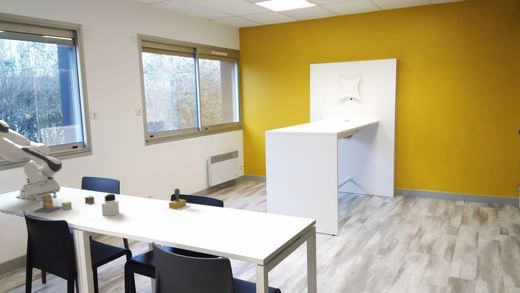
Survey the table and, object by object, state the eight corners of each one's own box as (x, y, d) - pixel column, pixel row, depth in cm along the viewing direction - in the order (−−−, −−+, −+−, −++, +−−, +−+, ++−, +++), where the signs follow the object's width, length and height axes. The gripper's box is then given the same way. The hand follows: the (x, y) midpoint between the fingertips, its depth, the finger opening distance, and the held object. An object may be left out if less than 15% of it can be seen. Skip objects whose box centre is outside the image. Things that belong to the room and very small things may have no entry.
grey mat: (34, 212, 248) (34, 210, 247) (47, 207, 258) (47, 205, 258) (49, 212, 245) (49, 211, 245) (61, 207, 256) (61, 206, 256)
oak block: (43, 208, 251) (42, 196, 250) (49, 207, 254) (48, 195, 253) (46, 209, 249) (45, 197, 248) (53, 208, 252) (51, 195, 251)
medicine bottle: (119, 212, 243) (117, 193, 242) (113, 215, 236) (112, 196, 235) (108, 212, 244) (106, 193, 242) (102, 215, 237) (100, 196, 235)
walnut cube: (85, 203, 267) (84, 197, 267) (90, 201, 271) (90, 196, 270) (88, 203, 265) (88, 198, 265) (94, 202, 268) (93, 196, 268)
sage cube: (62, 208, 254) (61, 202, 254) (68, 207, 258) (67, 201, 257) (65, 209, 252) (65, 203, 252) (71, 208, 255) (71, 202, 255)
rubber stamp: (175, 209, 248) (174, 190, 246) (168, 208, 251) (167, 189, 249) (186, 205, 256) (185, 187, 255) (179, 204, 259) (178, 186, 258)
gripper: (23, 182, 245) (32, 199, 241) (55, 176, 262) (65, 192, 257) (20, 188, 248) (29, 206, 244) (52, 182, 265) (61, 198, 260)
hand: (47, 199), depth 251 cm, fingers open, 8 cm apart
